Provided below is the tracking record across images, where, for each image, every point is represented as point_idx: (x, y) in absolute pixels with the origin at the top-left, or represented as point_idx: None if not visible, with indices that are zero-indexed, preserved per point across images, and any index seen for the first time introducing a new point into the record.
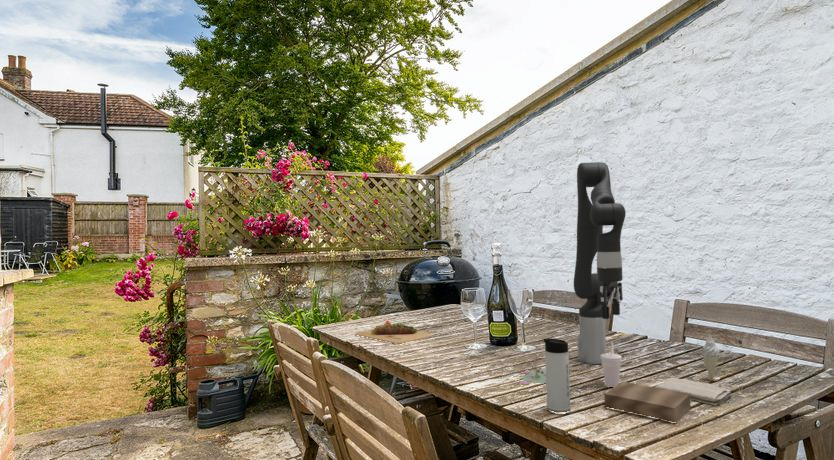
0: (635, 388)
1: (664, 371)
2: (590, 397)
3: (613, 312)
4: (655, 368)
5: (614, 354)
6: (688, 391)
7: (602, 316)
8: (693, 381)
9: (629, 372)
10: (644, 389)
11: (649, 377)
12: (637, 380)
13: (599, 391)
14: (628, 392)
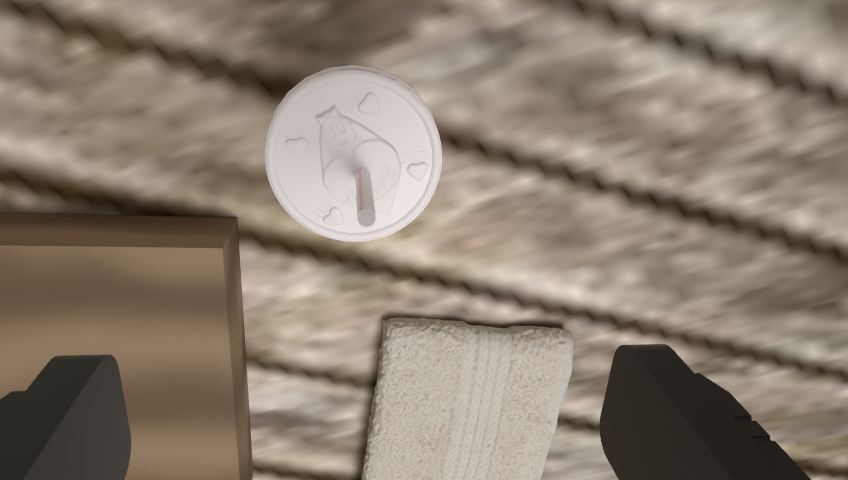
0: (140, 338)
1: (785, 251)
2: (50, 78)
3: (636, 379)
4: (833, 198)
5: (414, 171)
6: (379, 464)
7: (1, 402)
8: (546, 444)
9: (696, 101)
10: (158, 376)
11: (636, 224)
12: (547, 190)
13: (202, 81)
14: (36, 335)
